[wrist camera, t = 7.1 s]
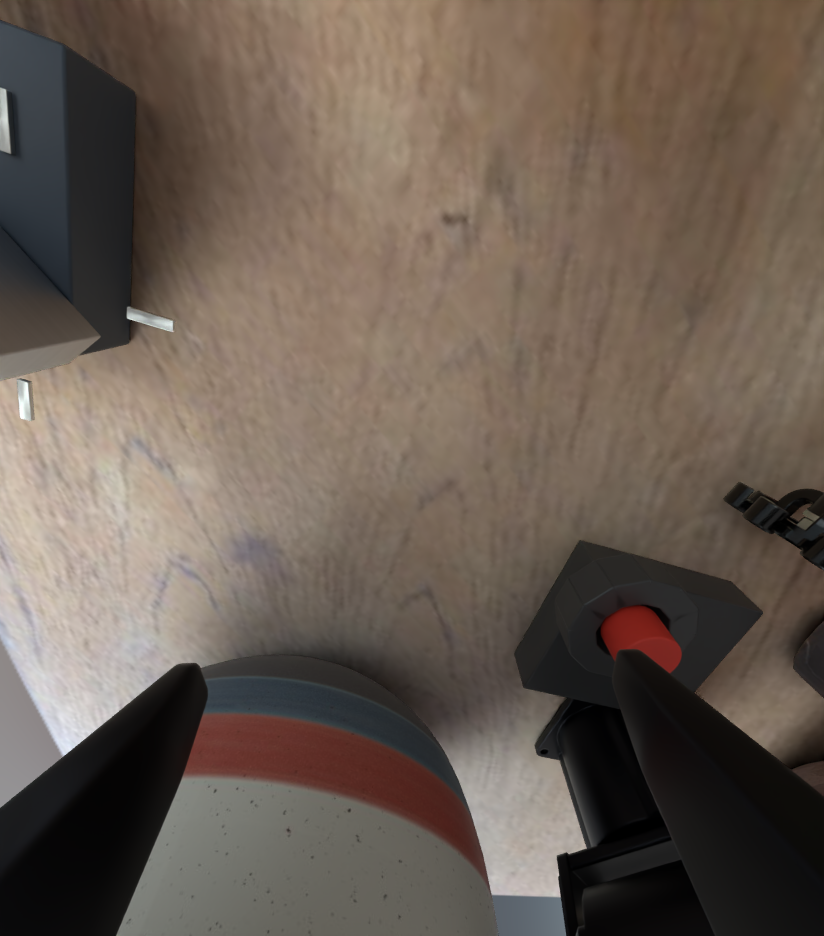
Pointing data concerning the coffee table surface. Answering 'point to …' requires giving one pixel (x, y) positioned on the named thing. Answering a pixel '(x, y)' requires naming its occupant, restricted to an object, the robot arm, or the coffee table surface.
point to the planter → (312, 816)
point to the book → (812, 660)
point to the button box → (606, 591)
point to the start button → (641, 635)
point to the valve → (785, 517)
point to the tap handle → (35, 318)
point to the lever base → (69, 181)
